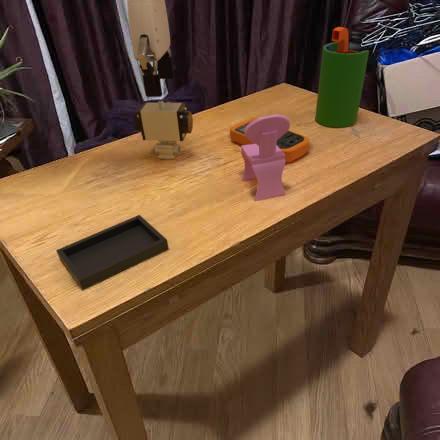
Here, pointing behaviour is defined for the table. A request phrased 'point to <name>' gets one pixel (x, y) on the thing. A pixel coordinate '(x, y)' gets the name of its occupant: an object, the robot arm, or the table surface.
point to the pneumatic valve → (164, 126)
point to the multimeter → (287, 143)
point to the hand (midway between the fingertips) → (160, 87)
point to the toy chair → (265, 155)
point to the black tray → (111, 251)
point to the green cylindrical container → (340, 82)
